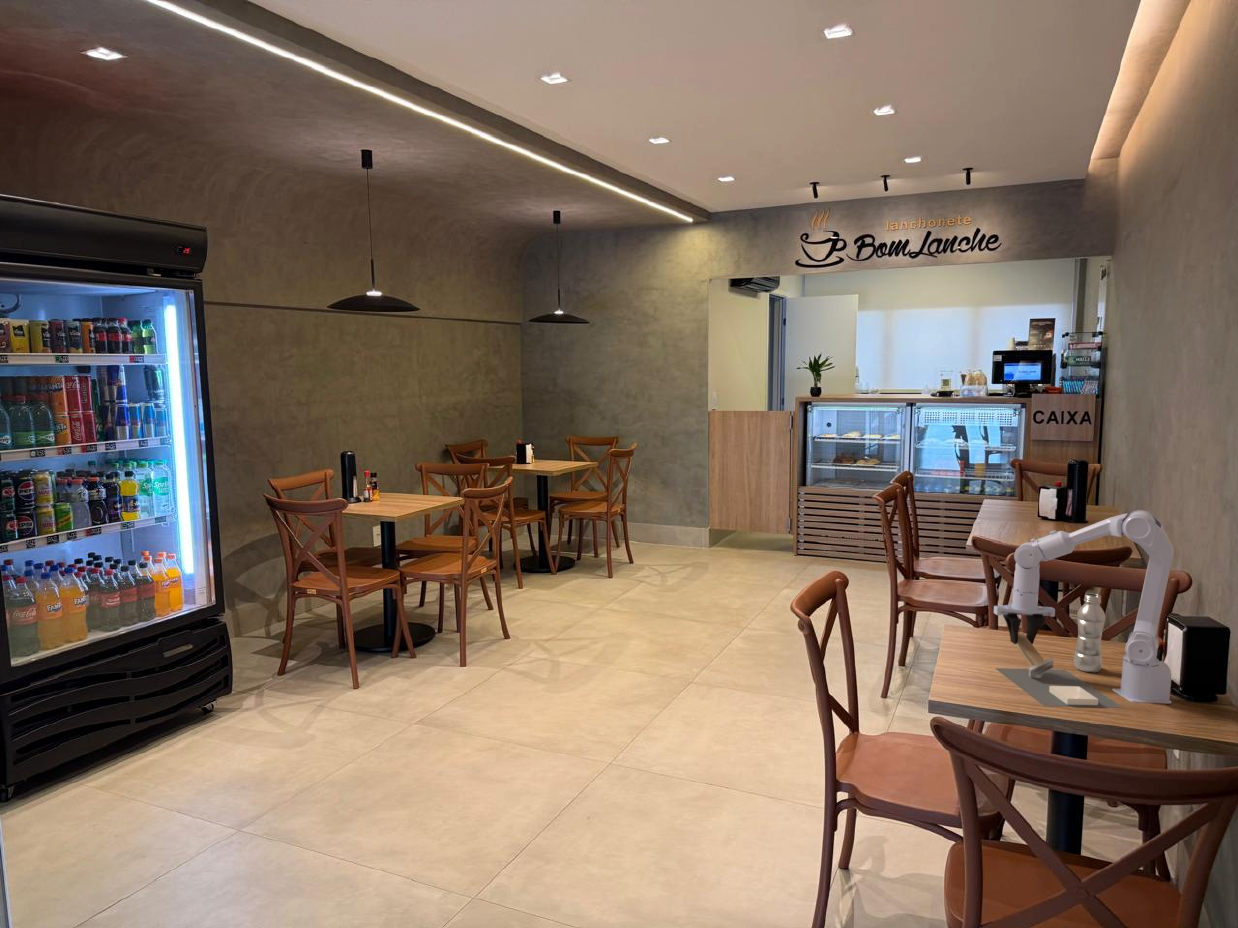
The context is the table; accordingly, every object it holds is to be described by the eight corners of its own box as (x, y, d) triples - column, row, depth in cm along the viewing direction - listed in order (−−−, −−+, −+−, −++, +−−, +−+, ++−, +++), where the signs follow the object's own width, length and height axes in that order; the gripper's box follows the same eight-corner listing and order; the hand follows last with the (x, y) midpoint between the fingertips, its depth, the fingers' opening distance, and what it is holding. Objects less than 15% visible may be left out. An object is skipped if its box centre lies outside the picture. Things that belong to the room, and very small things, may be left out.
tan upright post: (1027, 635, 214) (1028, 628, 211) (1052, 667, 207) (1053, 660, 204) (1006, 645, 214) (1006, 637, 211) (1030, 677, 207) (1030, 670, 204)
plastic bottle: (1075, 673, 212) (1081, 596, 210) (1070, 665, 218) (1076, 590, 216) (1104, 676, 210) (1110, 599, 208) (1098, 668, 216) (1104, 593, 214)
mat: (1064, 671, 214) (1064, 669, 214) (1123, 709, 189) (1123, 707, 189) (994, 669, 214) (994, 668, 214) (1044, 707, 189) (1044, 705, 189)
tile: (1079, 686, 197) (1098, 699, 189) (1078, 692, 197) (1097, 706, 189) (1049, 685, 197) (1067, 698, 189) (1049, 692, 197) (1067, 705, 189)
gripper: (1046, 587, 213) (1042, 638, 214) (990, 585, 213) (986, 637, 214) (1061, 594, 206) (1056, 647, 207) (1002, 592, 206) (998, 645, 207)
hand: (1021, 642), depth 210 cm, fingers closed on tan upright post, 3 cm apart
